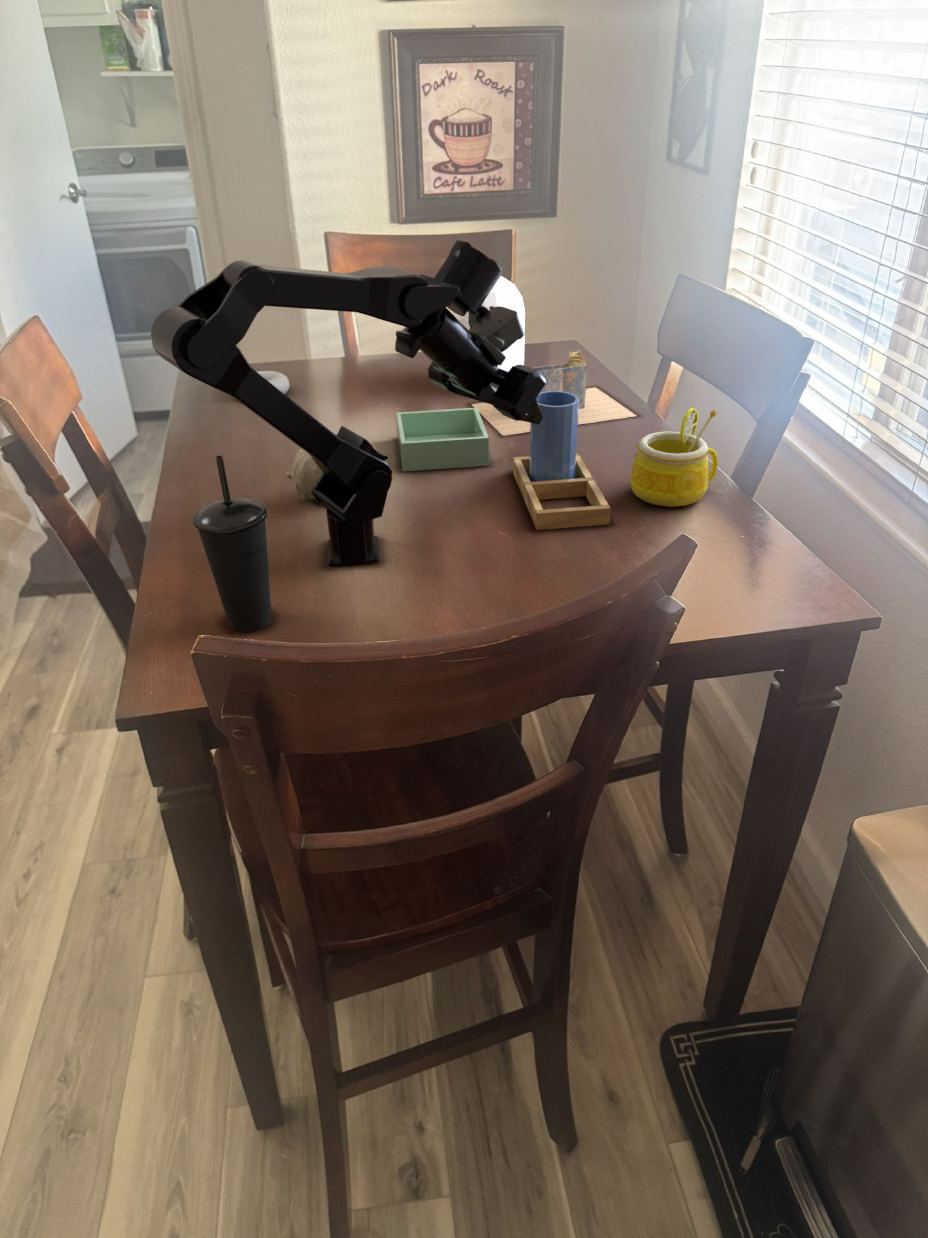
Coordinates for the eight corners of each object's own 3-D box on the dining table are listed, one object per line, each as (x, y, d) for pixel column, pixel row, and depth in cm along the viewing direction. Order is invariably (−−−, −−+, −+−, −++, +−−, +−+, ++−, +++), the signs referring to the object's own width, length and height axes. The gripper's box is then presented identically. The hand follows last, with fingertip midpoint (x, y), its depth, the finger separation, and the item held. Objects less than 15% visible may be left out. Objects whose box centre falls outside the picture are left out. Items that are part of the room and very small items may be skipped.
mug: (649, 517, 117) (659, 434, 111) (617, 485, 126) (623, 406, 119) (733, 504, 120) (747, 422, 113) (695, 474, 129) (706, 396, 122)
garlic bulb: (356, 507, 127) (375, 446, 122) (329, 523, 120) (348, 459, 115) (302, 480, 129) (318, 418, 124) (272, 494, 121) (288, 430, 116)
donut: (283, 383, 169) (232, 390, 165) (281, 365, 167) (229, 372, 163) (296, 398, 161) (243, 406, 157) (294, 380, 159) (241, 387, 156)
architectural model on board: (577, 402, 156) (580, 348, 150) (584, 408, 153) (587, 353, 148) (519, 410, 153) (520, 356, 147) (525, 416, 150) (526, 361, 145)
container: (536, 379, 167) (539, 270, 156) (502, 400, 157) (502, 286, 146) (477, 369, 173) (476, 264, 162) (441, 388, 164) (437, 278, 152)
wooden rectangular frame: (609, 524, 116) (610, 507, 114) (536, 530, 115) (537, 513, 114) (576, 468, 132) (577, 452, 130) (512, 472, 131) (512, 457, 129)
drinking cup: (255, 595, 102) (226, 436, 91) (297, 617, 98) (272, 453, 87) (202, 624, 98) (164, 459, 86) (244, 647, 93) (211, 478, 82)
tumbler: (578, 491, 124) (583, 405, 117) (534, 495, 124) (536, 408, 117) (568, 473, 130) (572, 389, 123) (525, 476, 129) (527, 392, 122)
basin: (489, 465, 133) (488, 437, 130) (402, 471, 132) (401, 443, 129) (477, 433, 144) (477, 407, 141) (397, 439, 143) (396, 412, 140)
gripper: (535, 303, 99) (599, 378, 110) (442, 276, 111) (508, 346, 123) (482, 385, 99) (551, 451, 111) (395, 349, 112) (465, 411, 123)
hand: (518, 411), depth 117 cm, fingers open, 9 cm apart
